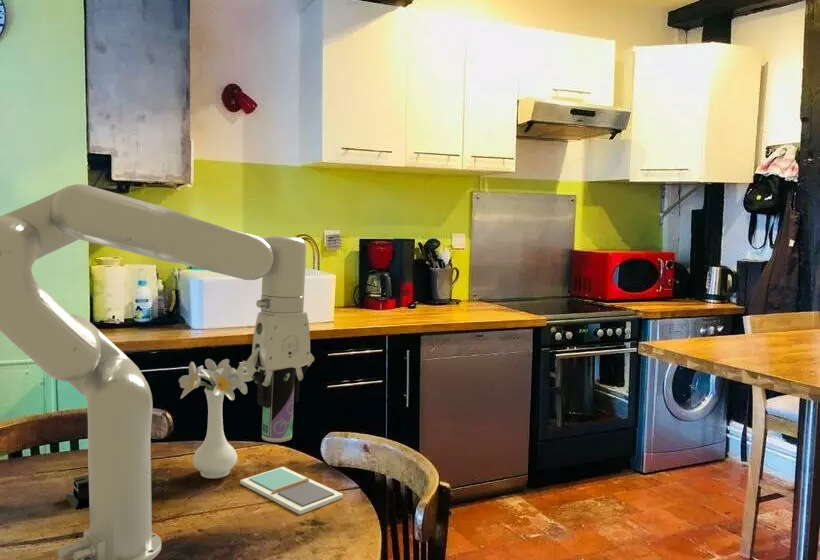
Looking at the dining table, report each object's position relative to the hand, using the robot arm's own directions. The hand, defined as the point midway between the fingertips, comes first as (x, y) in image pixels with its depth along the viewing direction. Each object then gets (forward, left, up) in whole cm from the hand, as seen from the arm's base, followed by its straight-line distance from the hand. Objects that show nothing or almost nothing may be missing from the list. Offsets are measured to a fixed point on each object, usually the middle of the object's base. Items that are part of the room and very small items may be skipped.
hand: (278, 402), depth 126 cm
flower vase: (+5, +29, -23) cm, 37 cm away
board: (+11, +10, -23) cm, 27 cm away
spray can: (0, 0, -7) cm, 7 cm away
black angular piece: (-21, +34, -24) cm, 47 cm away
